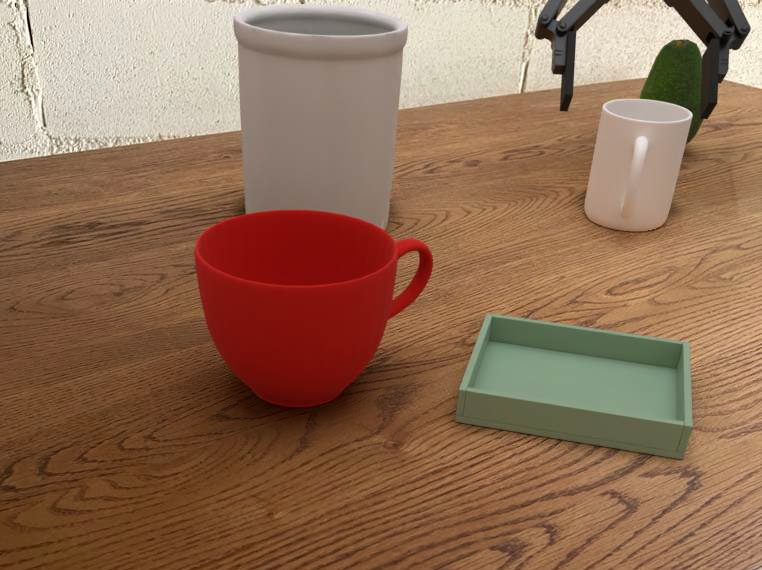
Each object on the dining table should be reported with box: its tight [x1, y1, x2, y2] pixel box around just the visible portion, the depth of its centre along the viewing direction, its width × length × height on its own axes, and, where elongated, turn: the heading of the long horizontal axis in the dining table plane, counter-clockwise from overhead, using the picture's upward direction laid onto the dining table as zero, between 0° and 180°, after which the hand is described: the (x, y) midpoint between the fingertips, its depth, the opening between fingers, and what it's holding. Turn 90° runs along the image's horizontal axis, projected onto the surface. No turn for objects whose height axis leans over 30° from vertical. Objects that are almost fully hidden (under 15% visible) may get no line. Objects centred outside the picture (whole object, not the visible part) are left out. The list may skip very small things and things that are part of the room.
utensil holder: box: [232, 3, 409, 231], centre depth 84 cm, size 15×15×18 cm
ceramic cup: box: [193, 210, 434, 408], centre depth 63 cm, size 13×17×10 cm
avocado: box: [639, 38, 705, 147], centre depth 108 cm, size 8×8×12 cm
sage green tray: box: [454, 312, 694, 460], centre depth 64 cm, size 15×12×2 cm
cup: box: [583, 98, 693, 232], centre depth 89 cm, size 8×12×10 cm
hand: (637, 107), depth 89 cm, fingers open, 13 cm apart
